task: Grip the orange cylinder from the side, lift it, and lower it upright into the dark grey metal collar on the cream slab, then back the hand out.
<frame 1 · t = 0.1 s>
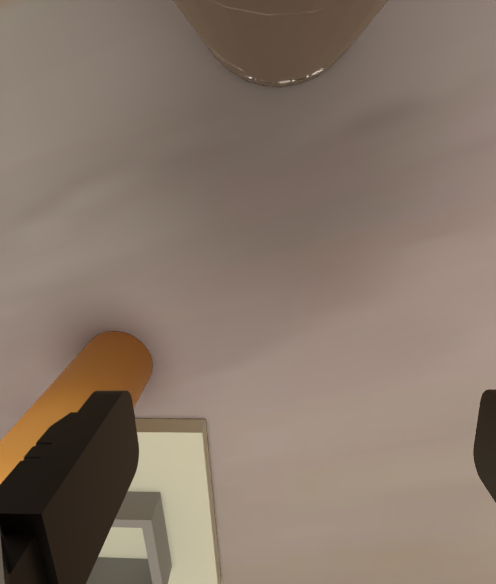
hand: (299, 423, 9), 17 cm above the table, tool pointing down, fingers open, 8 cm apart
orange cylinder: (118, 362, 29), on the table
cream slab: (132, 505, 34), on the table
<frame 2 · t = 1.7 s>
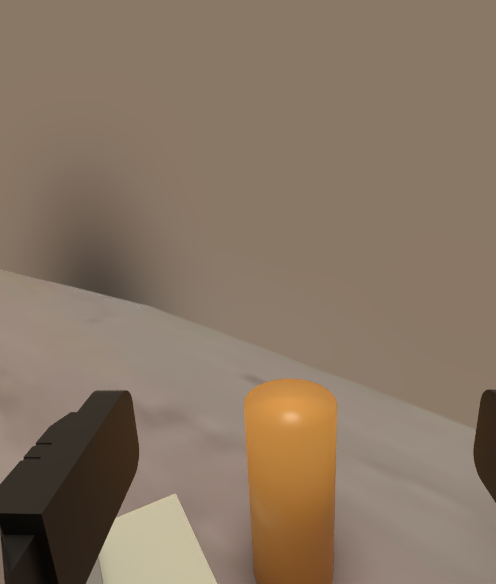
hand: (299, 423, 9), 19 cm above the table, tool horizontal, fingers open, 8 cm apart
orange cylinder: (293, 566, 26), on the table
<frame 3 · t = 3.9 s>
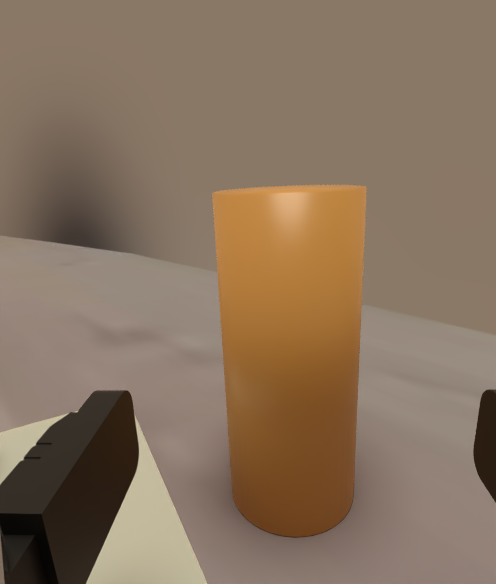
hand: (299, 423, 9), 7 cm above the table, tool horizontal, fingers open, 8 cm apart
orange cylinder: (291, 484, 17), on the table
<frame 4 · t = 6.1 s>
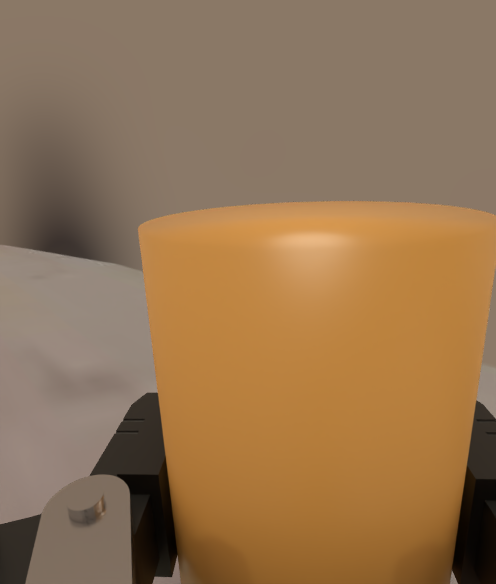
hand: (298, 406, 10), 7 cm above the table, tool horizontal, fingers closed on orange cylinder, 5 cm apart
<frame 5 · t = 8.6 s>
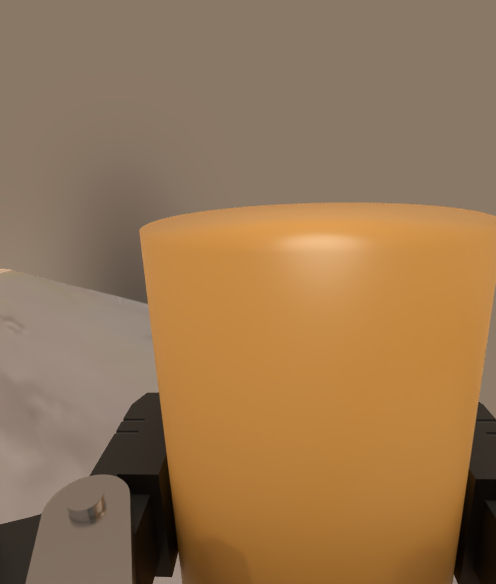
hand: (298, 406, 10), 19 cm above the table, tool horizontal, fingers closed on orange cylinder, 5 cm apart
when the fingers open (10 cm above the table, at t = 11.4 s): orange cylinder drops 1 cm, resting on cream slab.
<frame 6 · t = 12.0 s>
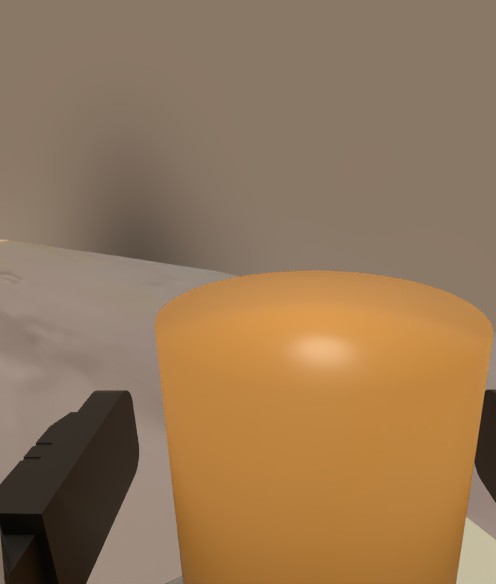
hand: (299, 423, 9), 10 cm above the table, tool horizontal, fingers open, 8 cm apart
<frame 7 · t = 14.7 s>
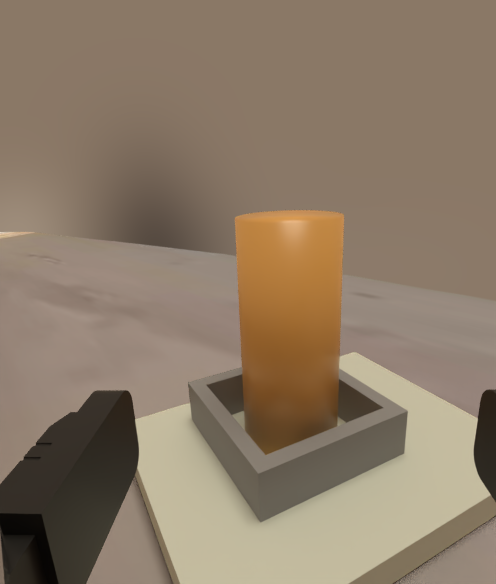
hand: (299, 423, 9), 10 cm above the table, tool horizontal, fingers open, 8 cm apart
orange cylinder: (290, 436, 22), point 2 cm above the table, touching cream slab
cream slab: (315, 462, 22), on the table
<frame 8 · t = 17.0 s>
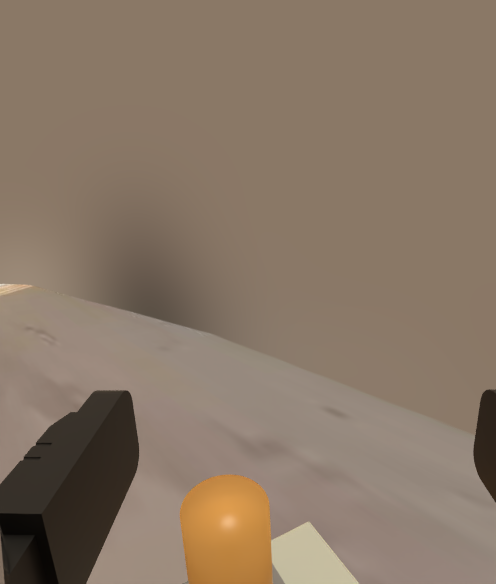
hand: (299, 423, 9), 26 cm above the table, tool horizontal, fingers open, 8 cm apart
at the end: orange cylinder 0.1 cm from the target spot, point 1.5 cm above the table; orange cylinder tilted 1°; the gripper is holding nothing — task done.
